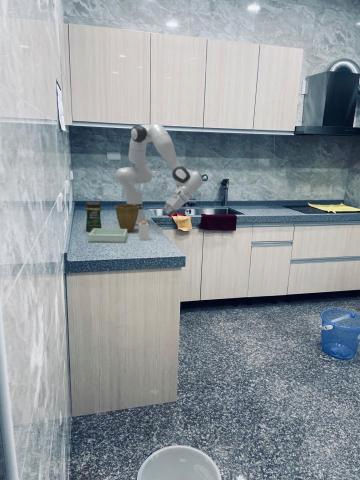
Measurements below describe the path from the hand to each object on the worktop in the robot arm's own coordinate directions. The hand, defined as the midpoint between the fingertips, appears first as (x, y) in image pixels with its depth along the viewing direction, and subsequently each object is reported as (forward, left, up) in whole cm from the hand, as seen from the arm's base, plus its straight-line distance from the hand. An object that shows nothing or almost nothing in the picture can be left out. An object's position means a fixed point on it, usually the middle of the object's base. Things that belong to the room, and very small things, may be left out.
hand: (164, 211), depth 208 cm
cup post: (+2, -12, -16) cm, 20 cm away
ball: (+2, -12, -7) cm, 14 cm away
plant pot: (-19, -23, -16) cm, 34 cm away
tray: (+3, -32, -16) cm, 36 cm away
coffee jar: (-18, -44, -16) cm, 50 cm away
